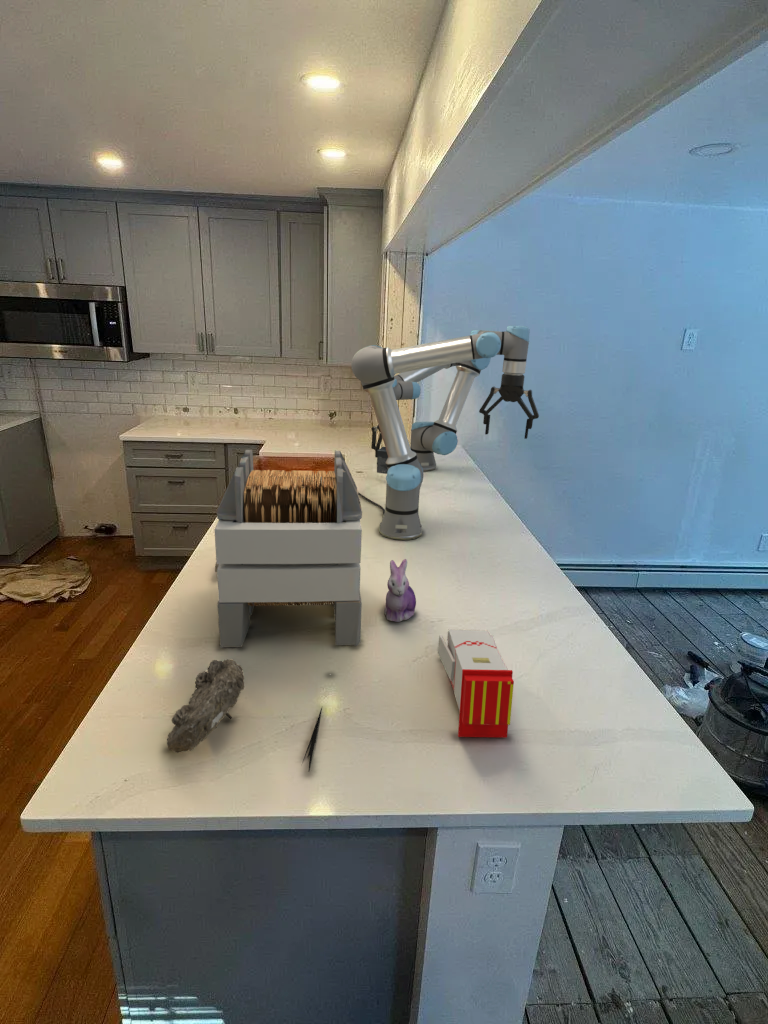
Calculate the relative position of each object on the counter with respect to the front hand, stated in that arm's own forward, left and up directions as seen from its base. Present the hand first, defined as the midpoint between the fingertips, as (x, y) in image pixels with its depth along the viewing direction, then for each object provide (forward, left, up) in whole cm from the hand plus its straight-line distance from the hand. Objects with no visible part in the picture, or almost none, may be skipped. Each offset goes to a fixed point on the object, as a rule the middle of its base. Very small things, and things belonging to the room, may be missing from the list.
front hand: (506, 435), depth 199 cm
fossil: (+33, -126, -34) cm, 135 cm away
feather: (+46, -110, -34) cm, 125 cm away
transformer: (+9, -93, -34) cm, 99 cm away
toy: (+58, -81, -34) cm, 106 cm away
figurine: (+26, -71, -34) cm, 83 cm away
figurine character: (-23, -94, -34) cm, 103 cm away
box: (-67, +3, -30) cm, 73 cm away
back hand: (-67, +3, -27) cm, 72 cm away
